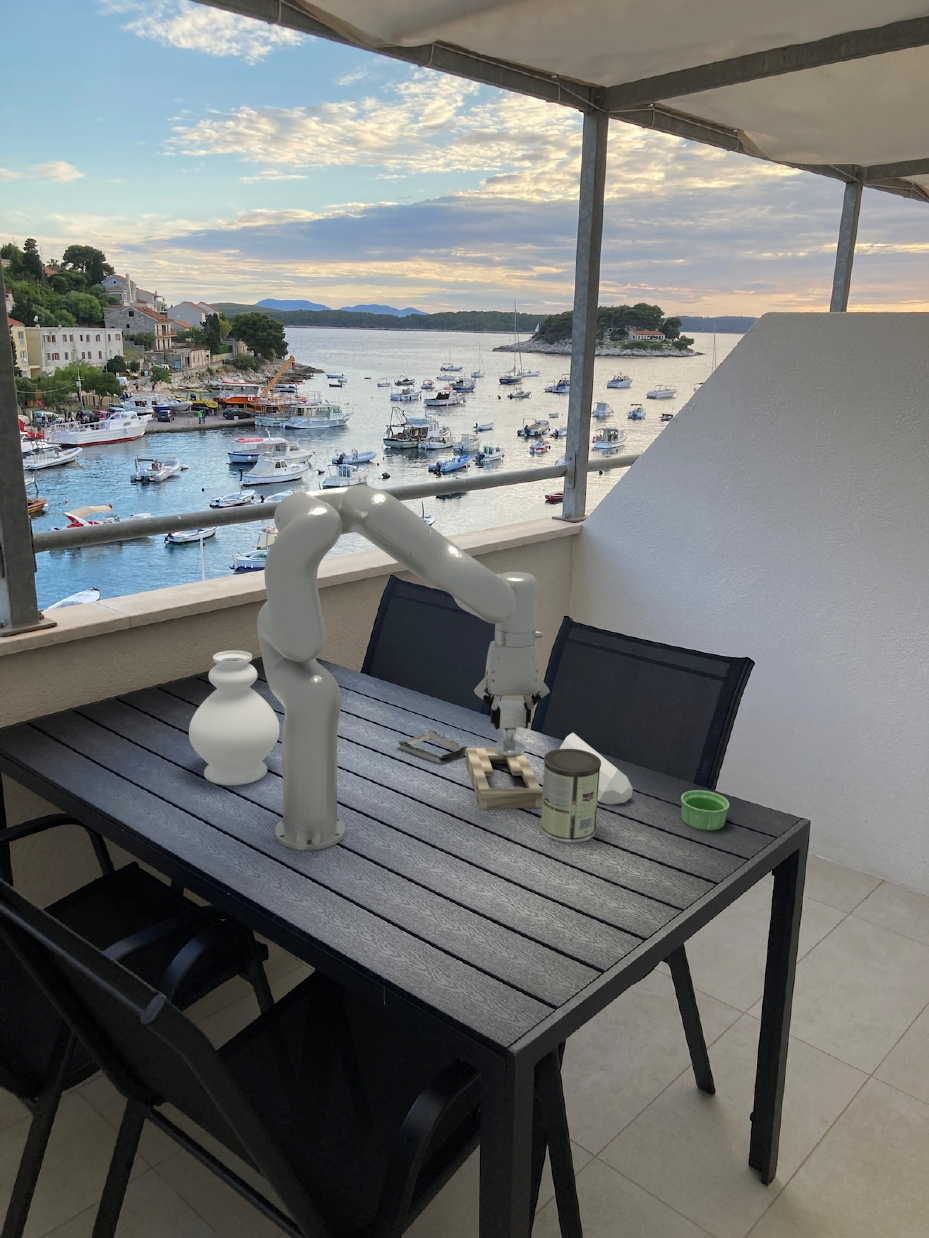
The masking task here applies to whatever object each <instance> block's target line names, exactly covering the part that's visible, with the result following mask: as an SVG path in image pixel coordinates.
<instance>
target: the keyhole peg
mask: <svg viewBox="0 0 929 1238" xmlns="http://www.w3.org/2000/svg"><path fill="white" fill-rule="evenodd" d="M498 706H499V710H500V717H499V729H502V728H503V740H500V741H497V742H495V743H494V746H493V748H494V752H495V753H496V754H497V755H499V756H503V757H519V756H521V755H523V754H525V745H524V744H523V743H521V742H519V741H516V740H517V729H518V728H524V727H526V708H525V706H524V702H523V701H522V700H500V702H499V705H498Z"/></svg>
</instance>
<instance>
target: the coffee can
mask: <svg viewBox="0 0 929 1238" xmlns="http://www.w3.org/2000/svg"><path fill="white" fill-rule="evenodd" d="M543 762H544V764H543V765H544V767H543V781H542V782H543V783H542V807H541V818H540V820H541V821H540V827H539V828H540V831H541V833H542V834H544V835H545V837H547V838H549V839H551V840H554V841H557V842H562V843H567V844H569V843H570V844H578V843H583V842H586V841H590V840H591V839H592V838H593V837H594V836H595V835H596V827H597V826H596V825H597V824H596V823H597V811H598V810H597V809H598V800H597V799H598V787H599V773H600V767H601V760H600V759H599V758H598V757H597V756H596V755H594V754H592V753H590V752H587V751H583V750H578V749H560V748H559V749H553V750H551V751H548V752H547V753H545V754H544V757H543Z"/></svg>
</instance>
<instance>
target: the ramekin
mask: <svg viewBox="0 0 929 1238" xmlns="http://www.w3.org/2000/svg"><path fill="white" fill-rule="evenodd" d="M680 802H681V819H682V821H683V823H685V824H686V825H687V826H689V827H691V828H694V829H695V830H701V831H716V830H720V829H721V828H723V827H724V826H725V823H726V819H727V815H728V811H729V810H730V809H729V808H730V802H729V801H728V799H727V798H726V797H724V796H723V795H721V794H719V793H716V792H713V791H709V790H701V789H699V790H697V789H696V790H688V791H686V792H684V793H682V794H681V796H680Z"/></svg>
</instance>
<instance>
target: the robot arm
mask: <svg viewBox="0 0 929 1238" xmlns="http://www.w3.org/2000/svg"><path fill="white" fill-rule="evenodd" d="M273 519H274V520H273V521H274V525H275V527H276V528H275V529H276V530H277V531H278V533H279V534H278V535H277V536H276V538H275V540H274V541H273V543H272V544H271V546H270V548H269V551H268V553H267V555H266V558H265V562H264V571H263V572H264V573H263V574H264V585H265V592H266V602H265V603H263V605H262V606H261V608H260V610H259V611H258V614H257V615H258V616H257V620H256V630H257V636H258V642H259V647H260V648H259V649H260V653H261V659H262V663H263V669H264V673H265V678H266V682H267V685H268V687H269V690H270V691H271V693H272V694H273V696H274V697H275V698H276V699H277V700H278V701H279V702H280V704H281V706H283V709H284V720H283V721H284V722H283V728H282V736H281V737H282V738H281V757H282V758H281V759H282V763H281V764H282V811H283V812H282V815H283V816H282V817H283V818H282V819H281V820H280V821H278V823H277V824H276V825H275V827H274V838H275V840H276V841H277V842H278V843H279V844H280V845H282V846H283V847H285V848H289V849H293V850H299V851H316V850H317V851H318V850H322V849H323V850H324V849H326V848H329V847H332V846H335V845H337V844H338V843H339V842H341V841H342V840H343V839H344V838H345V835H346V831H347V828H346V823H345V821H344V820H343V819H341V817H338V729H339V728H338V727H339V719H340V714H341V708H342V692H341V688H340V686H339V684H338V682H337V680H336V678H335V677H334V676H333V674H332V673H330V672H329V670H328V669H327V668H325V667H324V666H323V665H322V664H320V663H319V662H318V661H317V657H318V656H320V654H321V653H322V651H323V650H324V647H325V644H326V640H327V639H326V634H327V633H326V627H325V622H324V616H323V612H322V611H323V610H322V605H321V600H320V599H321V598H320V594H319V583H318V582H319V581H318V571H319V567H320V564H321V562H322V560H323V559H324V557H325V556H326V555H327V554H328V552H330V551H331V549H332V548H333V547H335V545H336V544H337V543H338V542H339V539H340V538H341V535H346V534H351V533H356V534H358V535H360V536H362V537H364V538H365V539H367V540H368V541H370V542H371V543H372V544H373V545H374V546H376V547H377V548H378V549H380V550H381V551H383V552H384V553H385V554H386V555H388V556H389V557H390V558H392V559H393V560H395V561H396V562H397V563H399V565H401V566H403V567H404V568H405V569H407V571H409V572H410V573H411V574H413V575H415V576H417V578H420V579H421V580H423V581H424V582H427V583H428V584H431V585H433V586H435V587H437V588H438V589H440V590H443V591H444V592H446V593H448V595H451V596H452V597H453V600H454V601H455V603H456V604H457V606H458V607H460V608H461V610H464V611H465V612H468V613H470V615H473V616H476V617H478V618H479V619H480V620H483V621H485V622H486V623H489V624H492V625H493V624H494V625H495V628H494V640H492V641H490V642H489V643H490V644H489V647H488V651H487V656H486V666H485V674H484V678H483V679H482V680H480V682H479V683H478V684H477V685H476V687H475V688H474V690H473V691H474V693H475V695H476V696H477V697H478V698H480V700H481V699H482V700H483V702H485V703H486V705H488V706H489V707H490V723H491V724H493V727H494V728H495V730H500V727H499V717H500V710H499V706H498V705H499V702H500V701H501V699H502V697H503V696H504V697H505V696H507V697H508V696H523V701H524V702H523V704H524V706H525V708H526V727H523V729H526V730H527V729H529V724H530V723H532V721H531V720H532V710H533V709H534V707H535V705H536V704H538V703H539V702H540V701H541V700H542V698H544V697H546V696H547V695H548V694H550V689H549V687H548V686H547V684H546V683H545V682H544V680H543V679H542V678H541V677H540V659H539V658H540V657H539V649H538V644H537V642H536V640H537V639H542V637H543V632H542V630H537V629H536V613H537V612H536V611H537V610H536V609H537V590H538V581H537V578H536V577H535V576H534V575H533V574H531V573H528V572H524V571H507V572H503V573H494V572H493V571H491V570H490V569H489V568H487V567H486V566H485V565H484V564H482V563H481V562H479V561H478V560H477V559H475V558H474V557H472V556H471V555H470V554H468V553H467V552H465V551H464V550H463V549H462V548H461V547H459V546H458V545H457V544H455V543H454V542H452V540H450V539H448V538H447V537H446V536H444V535H443V534H442V533H441V532H439V531H438V530H436V528H434V527H432V526H431V525H430V524H429V523H427V522H426V521H425V520H423V519H422V518H421V517H420V516H419V515H417V514H416V513H415V512H413V510H411V509H410V508H409V507H407V506H406V505H405V504H404V503H402V502H401V501H400V500H399V499H397V498H396V497H395V496H394V495H392V494H390V493H389V492H387V491H385V490H381V489H378V488H376V487H372V486H369V485H364V484H361V485H360V484H358V485H349V486H341V487H334V488H333V487H332V488H324V489H317V490H308V491H300V492H299V491H298V492H294V493H292V494H291V493H290V494H289V495H287V496H285V497H284V498H283V499H282V500H280V501H279V503H278V505H277V506H276V508H275V510H274V515H273ZM486 688H487V691H488V693H486V692H485V690H486Z"/></svg>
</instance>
